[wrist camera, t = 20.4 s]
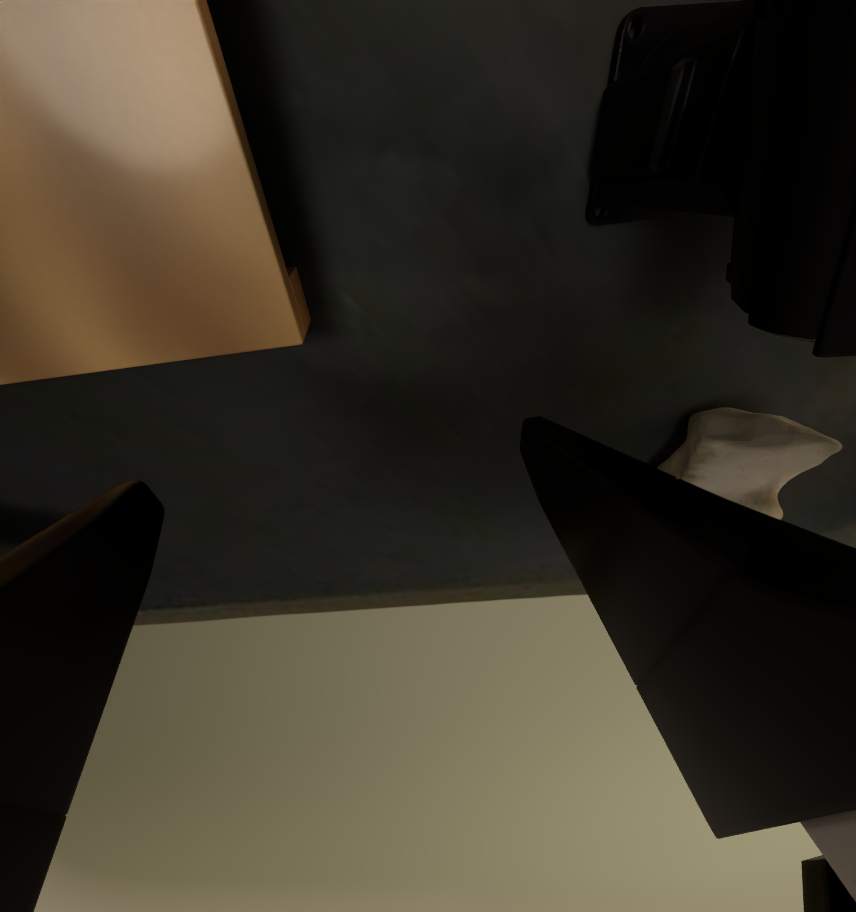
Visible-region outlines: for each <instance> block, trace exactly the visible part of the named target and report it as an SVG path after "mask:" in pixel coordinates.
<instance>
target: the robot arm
mask: <svg viewBox="0 0 856 912" xmlns="http://www.w3.org/2000/svg"><path fill="white" fill-rule="evenodd" d="M632 22H633V23H634V24H635V26H636V33H635V36H634V38H633V39H631V38H630V36H629V28H630V26H631V23H632ZM591 171H592V173H593V175H592V181H591V187H590V193H589V199H588V205H587V211H586V218H587V221H588V222H589V223H591V224H598V225H599V224H608V223H617V222H626V221H634V220H643V219H652V218H660V217H669V216H678V215H686V214H695V213H700V214H710V215H720V216H730V217H735V219H734V230H733V241H732V252H731V262H730V263H729V264H728V265H727V271H726V280H727V281H728V282H729V283H730V284H731V299H732V300H733V301H734V302H735V303H736V304H737V305H738V306H739V307H740V308H741V309H742V310H743V311H744V312H746V313H747V314H749V317H748V324H750V325H751V326H753V327H756V328H758V329H761V330H764V331H766V332H769V333H772V334H775V335H778V336H783V337H789V338H794V339H800V340H805V341H811V342H815V344H814V348H813V352H812V353H813V355H814V356H817V357H840V356H856V0H742V1H733V2H717V3H702V4H687V5H671V6H656V7H640V8H637V9H635V10H633V11H631V12H630V13H628V14H627V15H626V16H625V17H624V18H623V19H622V21H621V23H620V24H619V27H618V30H617V34H616V40H615V46H614V52H613V58H612V63H611V69H610V75H609V81H608V87H607V88H606V89H605V91H604V93H603V97H602V103H601V109H600V115H599V121H598V128H597V134H596V140H595V146H594V152H593V158H592V164H591ZM599 206H601V213H600V215H599V216H598V217H596V210H597V208H598V207H599ZM520 451H521V455H522V458H523V460H524V463H525V466H526V468H527V471H528V473H529V476H530V479H531V481H532V484H533V487H534V489H535V492H536V495H537V497H538V500H539V502H540V504H541V506H542V508H543V510H544V512H545V514H546V516H547V518H548V520H549V522H550V524H551V526H552V528H553V530H554V531H555V533H556V535H557V537H558V539H559V541H560V543H561V545H562V547H563V549H564V550H565V552H566V554H567V556H568V558H569V560H570V562H571V564H572V566H573V568H574V569H575V571H576V573H577V575H578V577H579V579H580V581H581V583H582V585H583V587H584V588H585V590H586V592H587V594H588V596H589V598H590V600H591V602H592V604H593V605H594V607H595V609H596V611H597V613H598V615H599V617H600V619H601V621H602V623H603V625H604V626H605V628H606V630H607V632H608V634H609V636H610V638H611V640H612V642H613V644H614V645H615V647H616V649H617V651H618V653H619V655H620V657H621V659H622V661H623V662H624V664H625V666H626V668H627V670H628V672H629V674H630V676H631V678H632V680H633V682H634V683H635V685H637V690H638V691H639V694H640V695H641V697H642V699H643V701H644V703H645V705H646V707H647V709H648V711H649V713H650V714H651V716H652V718H653V720H654V722H655V724H656V726H657V727H658V730H659V732H660V733H661V735H662V737H663V739H664V741H665V743H666V745H667V747H668V749H669V750H670V752H671V754H672V756H673V758H674V760H675V762H676V764H677V766H678V767H679V770H680V771H681V773H682V775H683V777H684V779H685V781H686V783H687V785H688V787H689V788H690V790H691V792H692V794H693V796H694V798H695V800H696V802H697V804H698V805H699V807H700V809H701V811H702V813H703V815H704V817H705V819H706V821H707V823H708V824H709V826H710V828H711V830H712V831H713V833H714V835H715V836H716V838H718V839H720V838H724V837H729V836H733V835H739V834H743V833H748V832H753V831H758V830H763V829H767V828H772V827H777V826H782V825H787V824H791V823H796V822H801V824H802V825H803V827H804V828H805V830H806V831H807V833H808V834H809V835H810V837H811V838H812V840H813V841H814V843H815V844H816V845H817V847H818V848H819V849H820V851H821V853H822V854H823V855H822V856H818V857H815V858H811V859H807V860H804V861H802V881H803V902H804V912H856V548H854V547H851V546H848V545H845V544H842V543H840V542H837V541H835V540H832V539H829V538H827V537H824V536H821V535H819V534H816V533H814V532H811V531H808V530H806V529H803V528H800V527H798V526H795V525H793V524H790V523H787V522H785V521H782V520H779V519H777V518H774V517H772V516H769V515H766V514H764V513H761V512H759V511H756V510H753V509H751V508H748V507H746V506H743V505H741V504H738V503H736V502H733V501H731V500H728V499H726V498H723V497H721V496H719V495H716V494H714V493H712V492H709V491H707V490H705V489H702V488H700V487H698V486H695V485H693V484H691V483H689V482H687V481H684V480H682V479H677V478H676V477H675V476H673V475H671V474H669V473H666V472H664V471H662V470H660V469H657V468H655V467H653V466H651V465H648V464H646V463H644V462H642V461H639V460H637V459H635V458H633V457H631V456H628V455H626V454H624V453H622V452H619V451H617V450H615V449H613V448H610V447H608V446H606V445H604V444H601V443H599V442H597V441H595V440H592V439H590V438H588V437H586V436H584V435H581V434H579V433H577V432H575V431H572V430H570V429H568V428H566V427H563V426H561V425H559V424H557V423H554V422H552V421H550V420H548V419H545V418H543V417H540V416H538V417H532V418H526V419H525V420H524V421H523V424H522V433H521V442H520ZM163 519H164V507H163V505H162V503H161V502H160V501H159V500H158V498H157V497H156V496H155V495H154V493H153V492H152V491H151V490H150V488H149V487H148V486H147V485H146V484H145V483H144V482H142V481H131V482H124V483H120V484H117V485H116V486H114V487H112V488H111V489H109V490H108V491H106V492H104V493H103V494H101V495H99V496H98V497H96V498H95V499H93V500H91V501H90V502H88V503H87V504H85V505H83V506H82V507H80V508H78V509H77V510H75V511H74V512H72V513H70V514H69V515H67V516H66V517H64V518H62V519H61V520H59V521H57V522H56V523H54V524H53V525H51V526H49V527H48V528H46V529H44V530H43V531H41V532H40V533H38V534H36V535H35V536H33V537H32V538H30V539H28V540H27V541H25V542H23V543H22V544H20V545H19V546H17V547H15V548H14V549H12V550H11V551H9V552H7V553H6V554H4V555H2V556H1V557H0V912H34V909H35V906H36V903H37V900H38V898H39V895H40V892H41V889H42V886H43V883H44V880H45V878H46V875H47V872H48V869H49V866H50V863H51V860H52V857H53V854H54V852H55V849H56V846H57V843H58V840H59V837H60V834H61V831H62V829H63V826H64V823H65V820H66V816H65V815H66V814H67V813H68V810H69V808H70V805H71V802H72V799H73V796H74V793H75V790H76V788H77V785H78V782H79V779H80V776H81V773H82V770H83V767H84V764H85V762H86V759H87V756H88V753H89V750H90V747H91V745H92V742H93V739H94V736H95V732H96V730H97V727H98V725H99V722H100V719H101V716H102V713H103V710H104V707H105V705H106V702H107V699H108V696H109V693H110V690H111V687H112V684H113V682H114V679H115V676H116V673H117V670H118V667H119V664H120V661H121V658H122V656H123V653H124V650H125V647H126V644H127V641H128V638H129V636H130V632H131V630H132V627H133V624H134V621H135V619H136V616H137V613H138V610H139V607H140V604H141V601H142V599H143V596H144V593H145V590H146V587H147V584H148V581H149V578H150V575H151V571H152V567H153V563H154V559H155V555H156V550H157V546H158V541H159V537H160V532H161V528H162V523H163Z"/></svg>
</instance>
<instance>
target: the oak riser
mask: <svg viewBox="0 0 856 912" xmlns="http://www.w3.org/2000/svg"><path fill="white" fill-rule="evenodd" d="M310 320H311V318H310V314H309V310H308V307H307V303H306V300H305V296H304V293H303V289H302V285H301V282H300V278H299V275H298V271H297V268H296V267H287V268H286V266H285V263H284V260H283V256H282V253H281V250H280V246H279V243H278V240H277V236H276V233H275V229H274V226H273V223H272V219H271V216H270V213H269V209H268V206H267V203H266V199H265V196H264V192H263V189H262V186H261V182H260V179H259V176H258V172H257V169H256V166H255V162H254V159H253V155H252V152H251V149H250V145H249V142H248V139H247V135H246V132H245V129H244V125H243V122H242V118H241V115H240V112H239V108H238V105H237V102H236V98H235V95H234V92H233V88H232V85H231V81H230V78H229V75H228V71H227V68H226V65H225V61H224V58H223V55H222V51H221V48H220V44H219V41H218V38H217V34H216V31H215V28H214V24H213V21H212V18H211V14H210V11H209V7H208V4H207V1H206V0H0V385H3V384H10V383H18V382H25V381H33V380H40V379H48V378H55V377H62V376H70V375H77V374H85V373H92V372H100V371H107V370H115V369H122V368H130V367H137V366H144V365H152V364H159V363H167V362H174V361H182V360H189V359H197V358H204V357H212V356H219V355H226V354H234V353H241V352H249V351H256V350H264V349H271V348H279V347H286V346H294V345H301V344H303V341H304V338H305V335H306V333H307V330H308V326H309V323H310Z"/></svg>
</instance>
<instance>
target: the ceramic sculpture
mask: <svg viewBox="0 0 856 912" xmlns="http://www.w3.org/2000/svg"><path fill="white" fill-rule="evenodd" d="M841 448H842V444H841V443H840V442H838V441H837V440H835V439H832V438H830V437H827V436H825V435H823V434H821V433H819V432H817V431H815V430H813V429H811V428H808V427H805V426H803V425H801V424H798V423H796V422H794V421H792V420H790V419H787V418H785V417H783V416H775V415H770V414H759V413H751V412H747V411H743V410H739V409H735V408H729V407H722V408H715V409H711V410H708V411H701V412H698V413H695V414H693V415H692V416H691V417H690V419H689V422H688V433H687V438H686V441H685V442H684V443H683V444H682V445H681V446H680V447H679V448H678V449H677V450H676V451H675V452H674V453H673V454H672V455H671V456H670V457H669V458H668V459H667V460H665V461H664V462H663V463H662V464H661V465H659V466H658V467H657V469H660V470H662V471H664V472H666V473H669V474H671V475H673V476H675V477H676V478H677V479H682V480H684V481H687V482H689V483H691V484H693V485H695V486H698V487H700V488H702V489H705V490H707V491H709V492H712V493H714V494H716V495H719V496H721V497H723V498H726V499H728V500H731V501H733V502H736V503H738V504H741V505H743V506H746V507H748V508H751V509H753V510H756V511H759V512H761V513H764V514H766V515H769V516H772V517H774V518H777V519H779V520H781V518H782V517H783V511H782V509H781V507H780V505H779V503H778V500H777V495H778V492H779V490H780V489H781V487H782V486H783V485H784V484H785V483H787V482H788V481H789V480H790V479H792V478H793V477H795V476H796V475H798V474H799V473H801V472H803V471H806V470H808V469H810V468H813V467H815V466H817V465H819V464H821V463H822V462H823V461H824V460H825V459H827V458H828V457H829V456H830V455H832V454H835V453H837V452H839V451H840V450H841Z"/></svg>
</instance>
